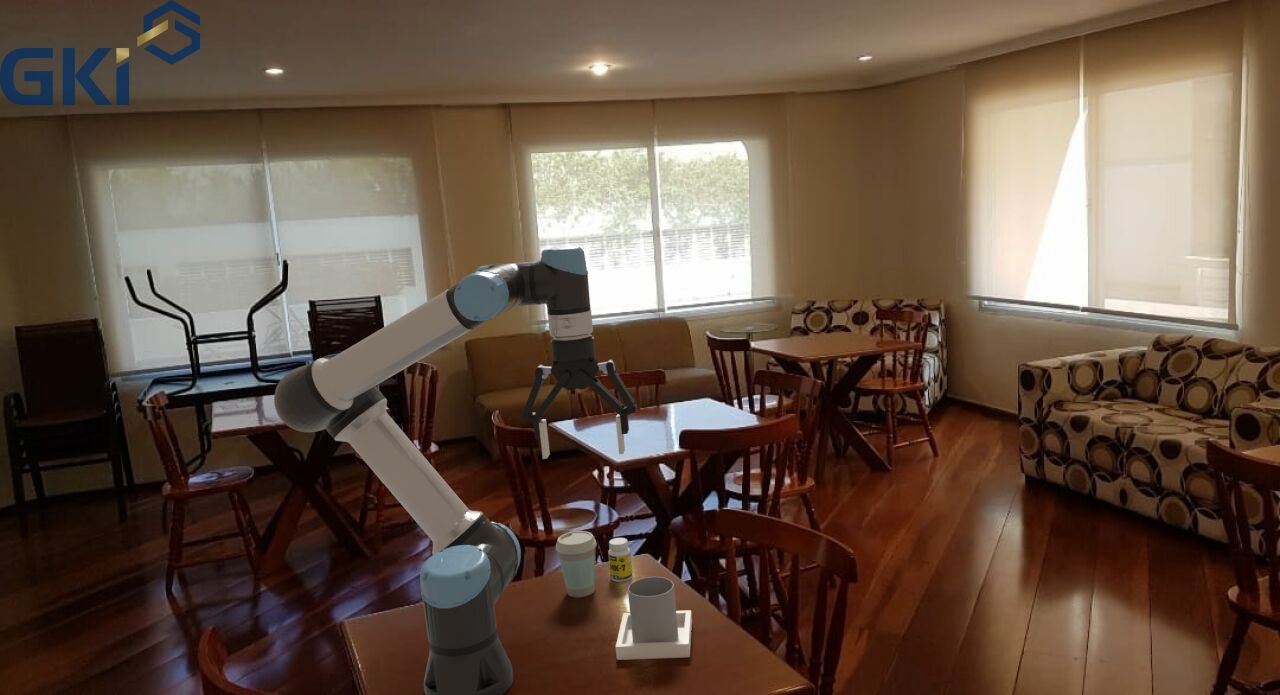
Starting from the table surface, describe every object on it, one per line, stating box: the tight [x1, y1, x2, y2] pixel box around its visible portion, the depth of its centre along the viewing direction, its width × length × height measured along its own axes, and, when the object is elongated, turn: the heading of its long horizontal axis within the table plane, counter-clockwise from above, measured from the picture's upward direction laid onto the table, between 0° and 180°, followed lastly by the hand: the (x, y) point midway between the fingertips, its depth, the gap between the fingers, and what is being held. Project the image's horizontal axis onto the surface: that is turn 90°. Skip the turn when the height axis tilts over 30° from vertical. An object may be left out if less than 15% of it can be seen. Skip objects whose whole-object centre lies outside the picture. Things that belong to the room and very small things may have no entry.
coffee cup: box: [555, 530, 598, 598], centre depth 190 cm, size 8×8×12 cm
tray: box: [615, 609, 693, 661], centre depth 167 cm, size 13×13×2 cm
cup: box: [627, 576, 678, 643], centre depth 166 cm, size 8×8×10 cm
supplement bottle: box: [607, 537, 633, 583], centre depth 195 cm, size 5×5×8 cm
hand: (584, 454), depth 160 cm, fingers open, 13 cm apart
